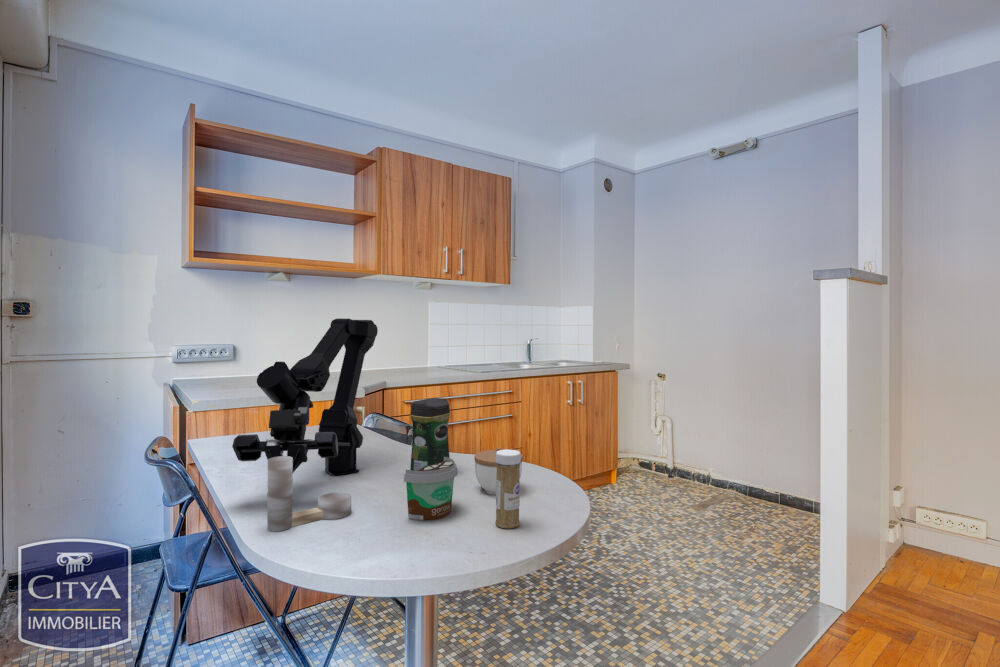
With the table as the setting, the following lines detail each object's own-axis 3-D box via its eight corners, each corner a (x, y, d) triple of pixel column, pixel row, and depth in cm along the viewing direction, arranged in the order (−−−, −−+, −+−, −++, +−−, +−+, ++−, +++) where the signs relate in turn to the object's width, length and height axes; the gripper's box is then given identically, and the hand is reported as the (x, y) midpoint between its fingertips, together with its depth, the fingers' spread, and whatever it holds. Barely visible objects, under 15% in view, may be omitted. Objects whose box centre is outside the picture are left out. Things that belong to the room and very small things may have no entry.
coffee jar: (431, 467, 131) (431, 394, 131) (455, 472, 126) (455, 397, 126) (403, 476, 123) (404, 399, 123) (428, 482, 118) (429, 402, 118)
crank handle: (342, 505, 100) (343, 444, 100) (356, 514, 96) (357, 450, 96) (262, 524, 90) (262, 457, 90) (274, 535, 86) (274, 464, 86)
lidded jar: (530, 494, 110) (531, 451, 110) (484, 500, 106) (484, 455, 106) (510, 480, 120) (511, 441, 120) (467, 485, 116) (467, 444, 116)
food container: (429, 532, 90) (429, 475, 89) (403, 524, 93) (403, 470, 93) (470, 511, 100) (470, 460, 100) (445, 505, 103) (445, 456, 103)
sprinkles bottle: (516, 530, 91) (516, 455, 91) (491, 527, 92) (492, 453, 92) (522, 521, 95) (523, 449, 95) (499, 518, 96) (500, 447, 96)
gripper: (235, 393, 98) (215, 467, 87) (336, 391, 101) (328, 462, 91) (247, 425, 106) (230, 496, 95) (341, 423, 109) (334, 491, 99)
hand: (280, 486), depth 95 cm, fingers closed
